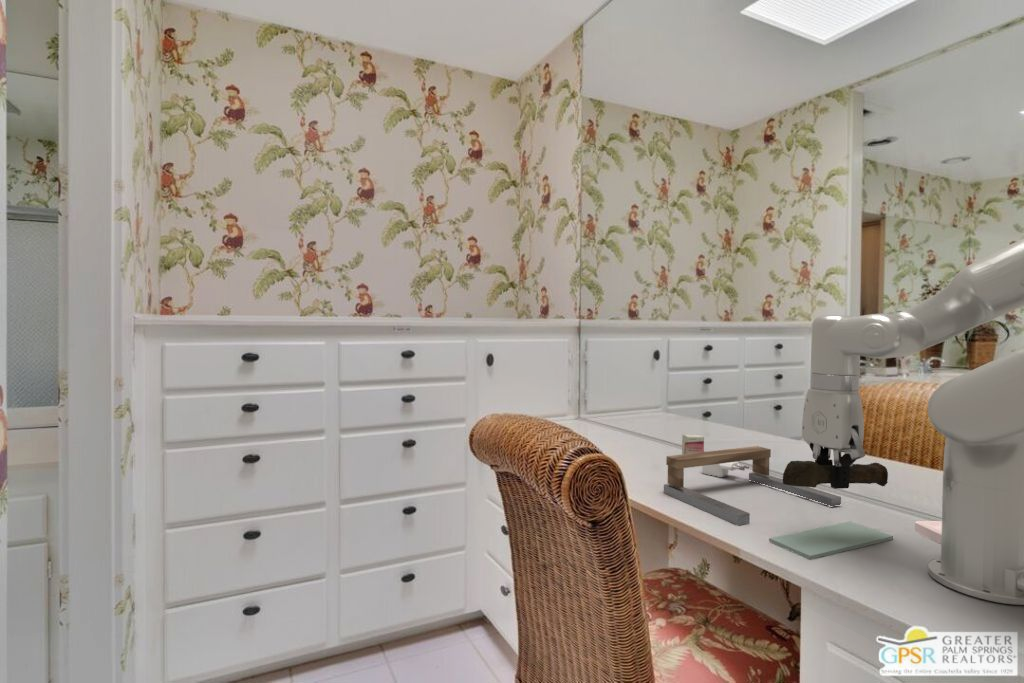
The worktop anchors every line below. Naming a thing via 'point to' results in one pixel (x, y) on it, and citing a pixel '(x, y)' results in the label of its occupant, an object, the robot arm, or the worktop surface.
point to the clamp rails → (739, 515)
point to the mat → (830, 539)
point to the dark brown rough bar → (821, 474)
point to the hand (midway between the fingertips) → (831, 483)
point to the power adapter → (722, 468)
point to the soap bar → (930, 529)
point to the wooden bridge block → (716, 461)
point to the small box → (692, 443)
